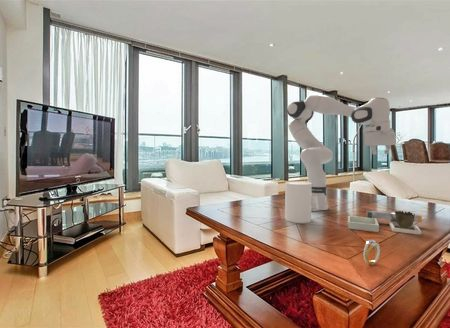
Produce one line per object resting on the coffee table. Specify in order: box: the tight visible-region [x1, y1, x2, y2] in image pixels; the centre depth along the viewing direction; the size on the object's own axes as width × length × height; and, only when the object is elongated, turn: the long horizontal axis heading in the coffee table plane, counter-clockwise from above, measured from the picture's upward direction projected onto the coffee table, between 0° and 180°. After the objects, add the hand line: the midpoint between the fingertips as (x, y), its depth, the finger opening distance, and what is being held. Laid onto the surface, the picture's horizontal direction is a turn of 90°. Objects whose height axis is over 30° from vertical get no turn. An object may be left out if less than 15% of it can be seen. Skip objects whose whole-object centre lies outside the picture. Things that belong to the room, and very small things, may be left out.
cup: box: [394, 210, 416, 229], centre depth 114 cm, size 8×7×8 cm
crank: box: [366, 209, 423, 223], centre depth 123 cm, size 22×6×4 cm, turn 63°
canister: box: [284, 180, 312, 224], centre depth 133 cm, size 14×14×20 cm
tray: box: [347, 215, 380, 233], centre depth 120 cm, size 12×12×3 cm
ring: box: [362, 239, 381, 266], centre depth 81 cm, size 7×3×8 cm, turn 113°
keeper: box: [389, 221, 422, 235], centre depth 115 cm, size 10×10×2 cm
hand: (380, 154), depth 132 cm, fingers open, 8 cm apart
